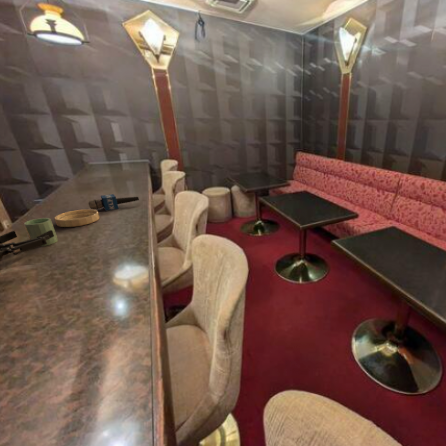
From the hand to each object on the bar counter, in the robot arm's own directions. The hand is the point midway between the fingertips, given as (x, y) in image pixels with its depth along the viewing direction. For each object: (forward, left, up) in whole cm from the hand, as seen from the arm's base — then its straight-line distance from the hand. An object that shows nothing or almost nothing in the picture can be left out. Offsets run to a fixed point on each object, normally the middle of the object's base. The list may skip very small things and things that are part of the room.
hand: (33, 233), depth 101 cm
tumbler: (+2, +3, -6) cm, 7 cm away
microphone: (+27, +46, -6) cm, 54 cm away
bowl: (+11, +27, -6) cm, 30 cm away
